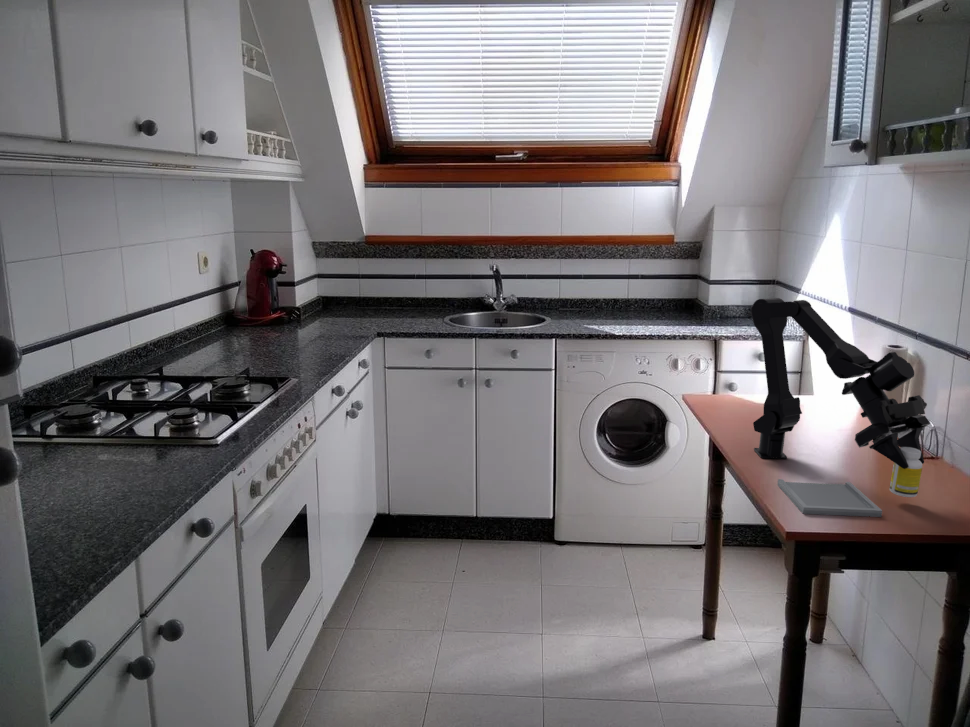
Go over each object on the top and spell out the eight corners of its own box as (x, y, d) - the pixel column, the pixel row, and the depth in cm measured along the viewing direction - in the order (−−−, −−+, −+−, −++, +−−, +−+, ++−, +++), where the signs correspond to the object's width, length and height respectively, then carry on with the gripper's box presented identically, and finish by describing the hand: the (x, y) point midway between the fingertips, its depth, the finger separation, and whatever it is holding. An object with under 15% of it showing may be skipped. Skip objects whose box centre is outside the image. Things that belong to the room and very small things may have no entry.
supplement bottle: (923, 497, 168) (930, 453, 166) (900, 498, 167) (907, 454, 165) (905, 487, 174) (913, 445, 171) (883, 488, 173) (890, 445, 170)
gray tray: (777, 484, 179) (778, 479, 179) (849, 487, 179) (849, 482, 179) (802, 513, 164) (803, 507, 163) (881, 517, 163) (882, 510, 163)
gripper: (876, 387, 164) (919, 455, 157) (928, 379, 173) (971, 442, 167) (837, 414, 172) (876, 479, 165) (888, 404, 181) (927, 465, 175)
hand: (914, 466), depth 168 cm, fingers closed on supplement bottle, 5 cm apart
